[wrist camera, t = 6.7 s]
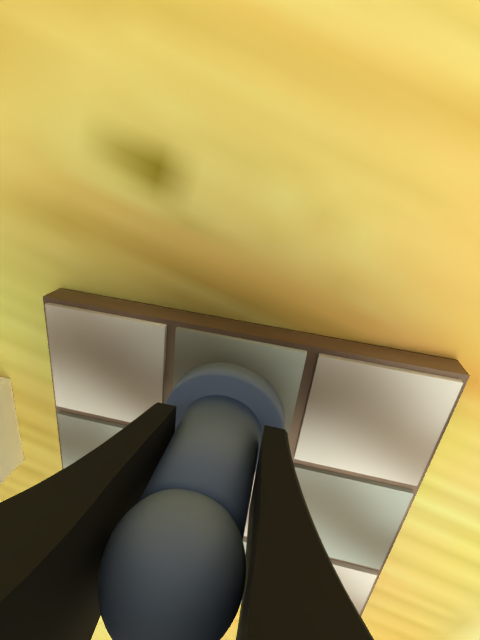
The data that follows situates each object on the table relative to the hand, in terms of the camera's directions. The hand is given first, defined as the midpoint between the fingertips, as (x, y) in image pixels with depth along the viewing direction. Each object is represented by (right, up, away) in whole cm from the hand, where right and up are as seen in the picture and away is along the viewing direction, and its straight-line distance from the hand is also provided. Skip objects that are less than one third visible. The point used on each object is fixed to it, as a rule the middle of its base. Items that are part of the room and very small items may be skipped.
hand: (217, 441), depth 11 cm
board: (0, -3, +5) cm, 6 cm away
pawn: (0, 0, +1) cm, 1 cm away
